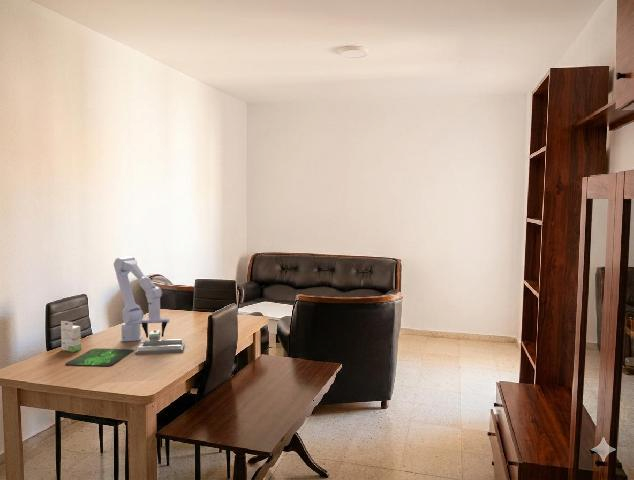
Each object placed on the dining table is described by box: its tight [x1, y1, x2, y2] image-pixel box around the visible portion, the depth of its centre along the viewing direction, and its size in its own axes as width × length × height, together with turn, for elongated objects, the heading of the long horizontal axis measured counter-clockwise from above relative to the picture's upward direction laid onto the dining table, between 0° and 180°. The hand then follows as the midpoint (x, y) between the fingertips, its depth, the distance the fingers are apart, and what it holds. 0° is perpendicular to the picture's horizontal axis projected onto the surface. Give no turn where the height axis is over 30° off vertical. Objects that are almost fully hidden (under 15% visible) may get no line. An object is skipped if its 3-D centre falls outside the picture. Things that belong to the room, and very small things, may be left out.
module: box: [148, 328, 161, 341], centre depth 267 cm, size 5×8×7 cm, turn 11°
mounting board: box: [135, 342, 185, 355], centre depth 256 cm, size 22×13×1 cm, turn 101°
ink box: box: [60, 320, 82, 353], centre depth 254 cm, size 9×5×15 cm, turn 65°
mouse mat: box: [65, 348, 135, 367], centre depth 243 cm, size 27×22×1 cm
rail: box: [137, 338, 183, 351], centre depth 256 cm, size 20×12×2 cm, turn 101°
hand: (154, 336), depth 266 cm, fingers open, 7 cm apart
